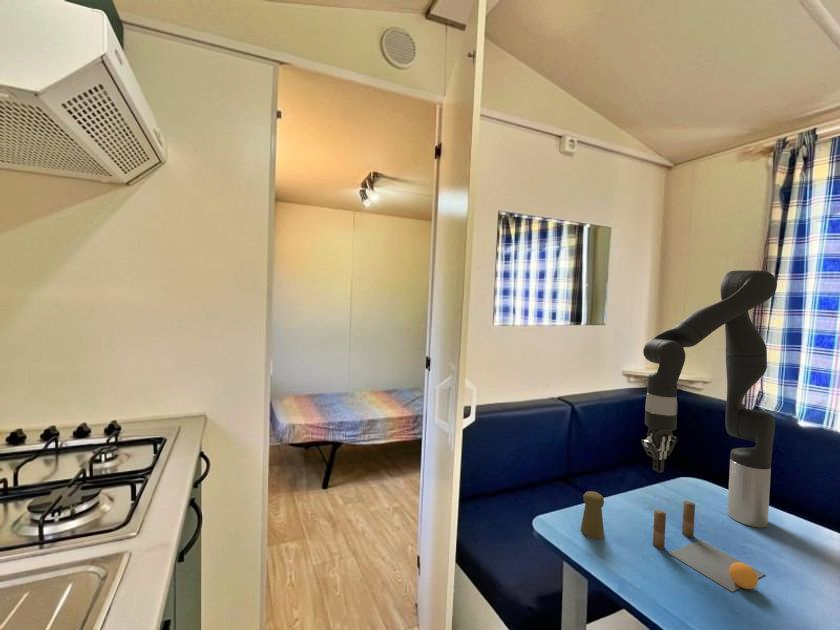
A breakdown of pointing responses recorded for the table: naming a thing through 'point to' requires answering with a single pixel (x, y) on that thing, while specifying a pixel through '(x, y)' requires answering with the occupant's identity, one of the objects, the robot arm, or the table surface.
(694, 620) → the table surface
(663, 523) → the post
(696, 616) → the table surface
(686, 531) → the post
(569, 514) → the table surface
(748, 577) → the ball
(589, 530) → the brown pawn
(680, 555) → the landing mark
